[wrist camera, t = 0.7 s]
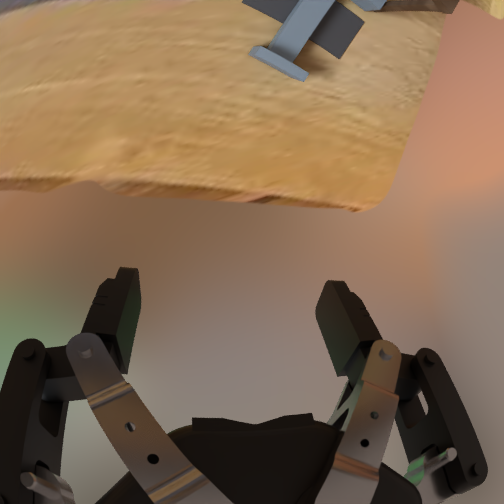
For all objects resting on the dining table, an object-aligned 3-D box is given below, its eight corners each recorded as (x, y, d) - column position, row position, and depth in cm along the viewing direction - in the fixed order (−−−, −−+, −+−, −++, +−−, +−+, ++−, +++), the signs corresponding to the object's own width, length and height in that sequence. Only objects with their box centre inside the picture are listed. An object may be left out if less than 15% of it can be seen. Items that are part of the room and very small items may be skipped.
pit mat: (241, 2, 23) (241, 2, 23) (270, -38, 19) (271, -38, 19) (338, 59, 29) (339, 59, 29) (363, 22, 25) (364, 21, 25)
